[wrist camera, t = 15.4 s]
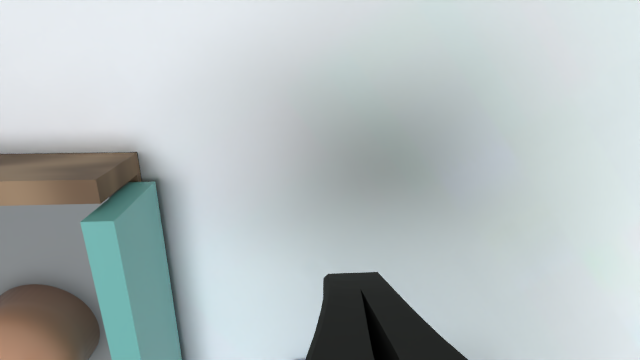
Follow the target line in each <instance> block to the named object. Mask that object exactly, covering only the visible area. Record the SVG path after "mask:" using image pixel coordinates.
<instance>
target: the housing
mask: <svg viewBox="0 0 640 360" xmlns="http://www.w3.org/2000/svg"><path fill="white" fill-rule="evenodd" d="M127 182H142V180H141V174H140V168H139V162H138V156H137V152H133V153H54V154H0V206H18V205H64V204H101V203H102V202H103V201H105V200H106V199H107V198H108V197H110V196H111V195H112V194H113V193H115V192H116V191H117V190H118V189H120V188H121V187H122V186H123V185H125V184H126V183H127Z"/></svg>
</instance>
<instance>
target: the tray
mask: <svg viewBox="0 0 640 360" xmlns="http://www.w3.org/2000/svg"><path fill="white" fill-rule="evenodd" d="M30 284H39V285H48V286H52V287H56V288H59V289H62V290H65V291H67V292H69V293H71V294H73V295H74V296H76V297H78V298H79V299H80V300H81V301H83V302H84V303H85V304H86V305H87V306H88V307H89V308H90V309H91V311H92V312H93V314H94V315H95V317H96V319H97V321H98V324H99V329H100V339H99V343H98V346H97V348H96V350H95V351H94V353H93V354H92V356H91V357H90V359H89V360H182V357H181V350H180V343H179V337H178V330H177V323H176V317H175V310H174V304H173V297H172V290H171V284H170V277H169V270H168V264H167V257H166V250H165V244H164V237H163V230H162V224H161V217H160V210H159V204H158V197H157V190H156V184H155V182H127V183H126V184H125V185H123V186H122V187H121V188H120V189H118V190H117V191H116V192H115V193H113V194H112V195H111V196H110V197H108V198H107V199H106V200H105V201H103V202H102V203H101V204H64V205H18V206H0V295H1V294H2V293H4V292H6V291H7V290H9V289H12V288H14V287H18V286H22V285H30Z"/></svg>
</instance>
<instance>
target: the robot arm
mask: <svg viewBox="0 0 640 360" xmlns="http://www.w3.org/2000/svg"><path fill="white" fill-rule="evenodd" d="M305 360H468V359H467V358H465V357H464V356H463V355H462V354H461V353H460V352H458V351H457V350H456V349H455V348H454V347H453V346H451V345H450V344H449V343H448V342H447V341H446V340H444V339H443V338H442V337H441V336H440V335H439V334H438V333H437V332H436V331H435V330H434V329H433V328H432V327H431V326H430V325H428V324H427V323H426V322H425V321H424V320H423V319H422V318H421V317H420V316H419V315H418V314H417V313H416V312H415V311H414V310H413V309H412V308H411V307H410V306H409V305H408V304H407V303H406V302H405V301H404V300H403V299H402V298H401V297H400V295H399V294H398V293H397V292H396V291H395V290H394V289H393V288H392V287H391V286H390V285H389V284H388V283H387V282H386V281H385V280H384V278H383V277H382V276H381V275H380V274H379V273H378V272H368V273H340V274H328V275H326V276H325V277H324V283H323V303H322V308H321V312H320V316H319V320H318V323H317V327H316V331H315V334H314V337H313V340H312V343H311V345H310V348H309V351H308V354H307V357H306V359H305Z"/></svg>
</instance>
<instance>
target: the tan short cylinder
mask: <svg viewBox="0 0 640 360" xmlns="http://www.w3.org/2000/svg"><path fill="white" fill-rule="evenodd" d="M99 339H100V329H99V324H98V321H97V319H96V317H95V315H94V314H93V312H92V311H91V309H90V308H89V307H88V306H87V305H86V304H85V303H84V302H83V301H81V300H80V299H79V298H78V297H76V296H74V295H73V294H71V293H69V292H67V291H65V290H62V289H59V288H56V287H52V286H48V285H39V284H30V285H22V286H18V287H14V288H12V289H9V290H7V291H6V292H4V293H2V294H1V295H0V360H89V359H90V357H91V356H92V354H93V353H94V351H95V350H96V348H97V346H98V343H99Z"/></svg>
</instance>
